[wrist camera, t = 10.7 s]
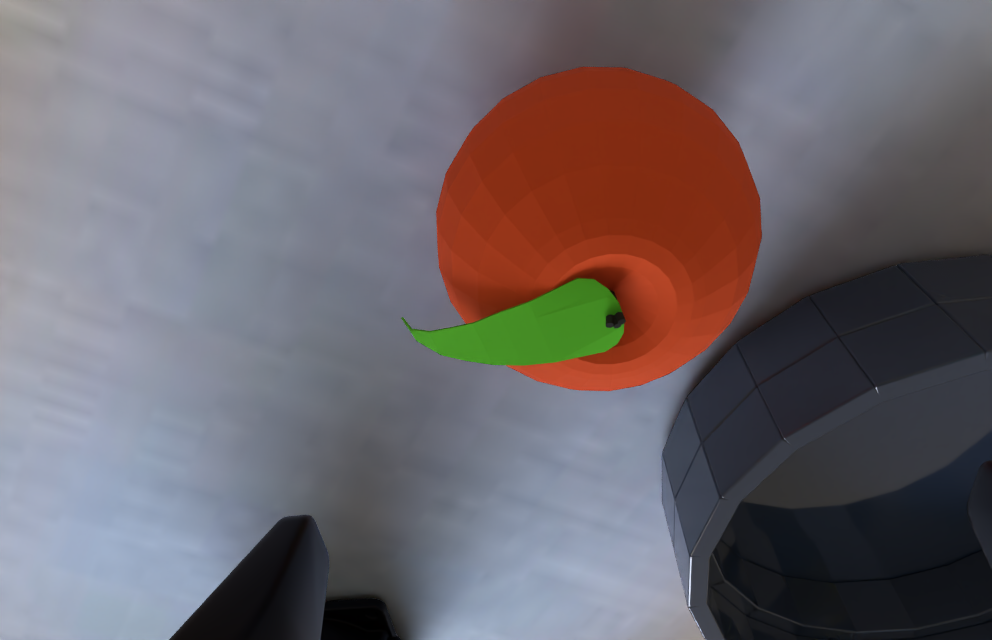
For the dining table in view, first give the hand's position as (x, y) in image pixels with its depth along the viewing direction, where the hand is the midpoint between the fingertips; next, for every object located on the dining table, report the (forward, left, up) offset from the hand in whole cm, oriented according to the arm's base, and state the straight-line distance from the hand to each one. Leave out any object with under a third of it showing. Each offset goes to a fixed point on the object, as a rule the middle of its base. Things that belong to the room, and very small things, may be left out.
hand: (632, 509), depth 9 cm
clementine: (0, +1, -11) cm, 11 cm away
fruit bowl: (+10, -10, -11) cm, 18 cm away
